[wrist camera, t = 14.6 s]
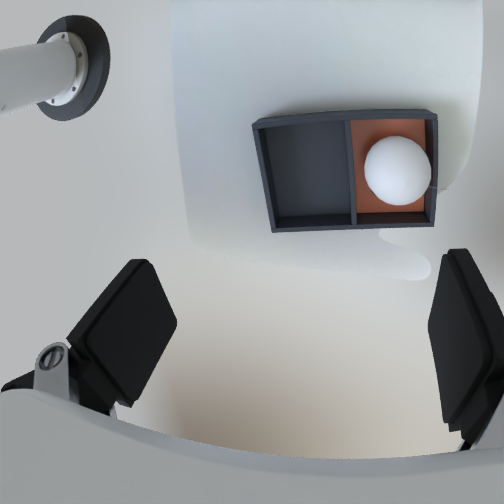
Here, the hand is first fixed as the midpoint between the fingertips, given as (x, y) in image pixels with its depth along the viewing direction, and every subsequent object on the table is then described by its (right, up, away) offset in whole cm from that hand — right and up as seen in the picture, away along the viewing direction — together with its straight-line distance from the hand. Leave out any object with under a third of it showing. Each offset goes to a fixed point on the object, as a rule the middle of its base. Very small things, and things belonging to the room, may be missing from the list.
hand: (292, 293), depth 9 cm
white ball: (+16, +11, +22) cm, 30 cm away
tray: (+10, +11, +25) cm, 29 cm away
